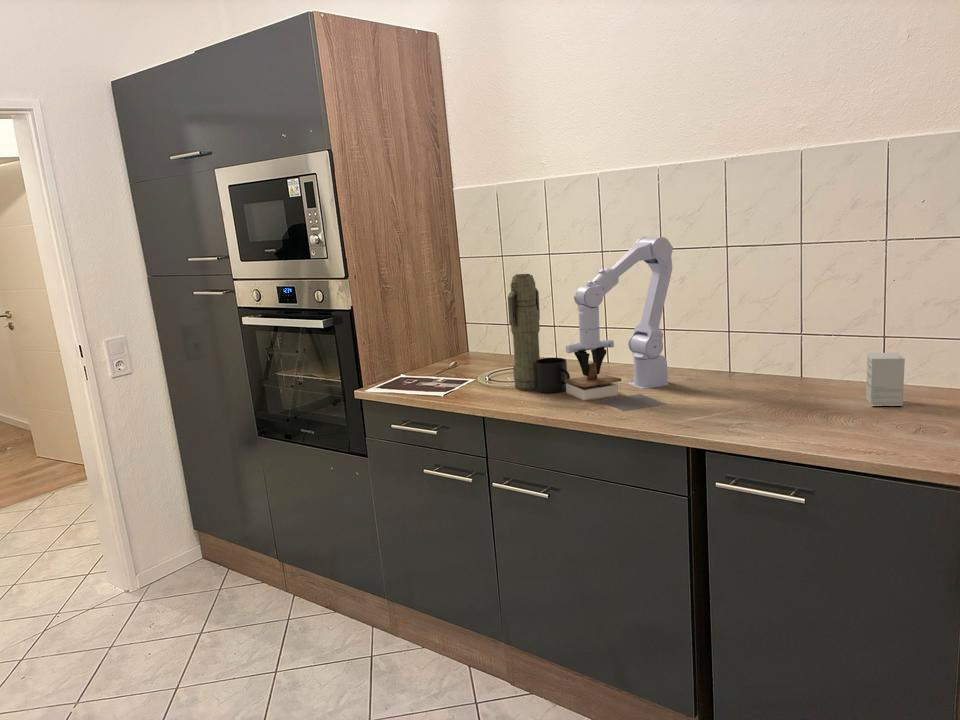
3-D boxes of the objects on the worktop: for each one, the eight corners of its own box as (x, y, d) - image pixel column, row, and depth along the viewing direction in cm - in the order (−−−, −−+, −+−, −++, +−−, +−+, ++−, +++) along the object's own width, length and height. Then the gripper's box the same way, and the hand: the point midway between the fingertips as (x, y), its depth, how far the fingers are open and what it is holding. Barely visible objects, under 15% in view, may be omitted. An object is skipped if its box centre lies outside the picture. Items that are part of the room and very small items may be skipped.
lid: (600, 376, 220) (598, 359, 219) (621, 381, 209) (620, 362, 208) (564, 382, 216) (563, 364, 215) (584, 387, 205) (582, 368, 204)
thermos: (505, 389, 229) (498, 276, 222) (528, 381, 237) (522, 272, 230) (527, 392, 223) (521, 276, 216) (551, 383, 231) (545, 272, 224)
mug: (559, 396, 216) (558, 366, 214) (530, 390, 225) (528, 361, 223) (580, 389, 222) (579, 360, 220) (551, 384, 231) (550, 356, 229)
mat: (640, 395, 211) (640, 393, 211) (666, 405, 199) (666, 403, 199) (599, 401, 207) (599, 400, 206) (624, 412, 195) (624, 411, 194)
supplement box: (897, 400, 189) (899, 352, 187) (903, 408, 182) (905, 358, 180) (865, 399, 192) (866, 352, 189) (869, 407, 185) (871, 358, 182)
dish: (599, 389, 221) (598, 377, 220) (618, 396, 211) (617, 384, 210) (566, 394, 217) (565, 382, 217) (583, 402, 207) (583, 390, 206)
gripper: (573, 332, 204) (574, 380, 207) (618, 327, 209) (620, 373, 211) (561, 329, 211) (563, 375, 213) (606, 324, 215) (607, 369, 218)
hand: (591, 374), depth 213 cm, fingers closed on lid, 3 cm apart
